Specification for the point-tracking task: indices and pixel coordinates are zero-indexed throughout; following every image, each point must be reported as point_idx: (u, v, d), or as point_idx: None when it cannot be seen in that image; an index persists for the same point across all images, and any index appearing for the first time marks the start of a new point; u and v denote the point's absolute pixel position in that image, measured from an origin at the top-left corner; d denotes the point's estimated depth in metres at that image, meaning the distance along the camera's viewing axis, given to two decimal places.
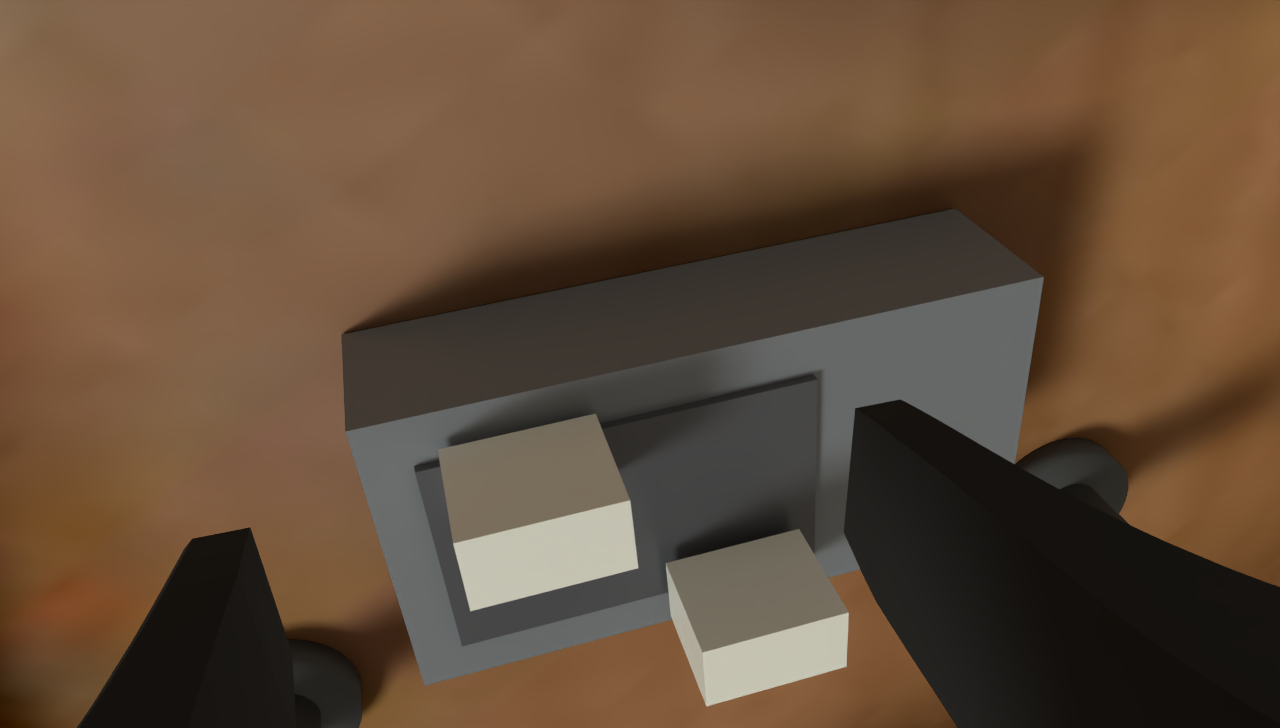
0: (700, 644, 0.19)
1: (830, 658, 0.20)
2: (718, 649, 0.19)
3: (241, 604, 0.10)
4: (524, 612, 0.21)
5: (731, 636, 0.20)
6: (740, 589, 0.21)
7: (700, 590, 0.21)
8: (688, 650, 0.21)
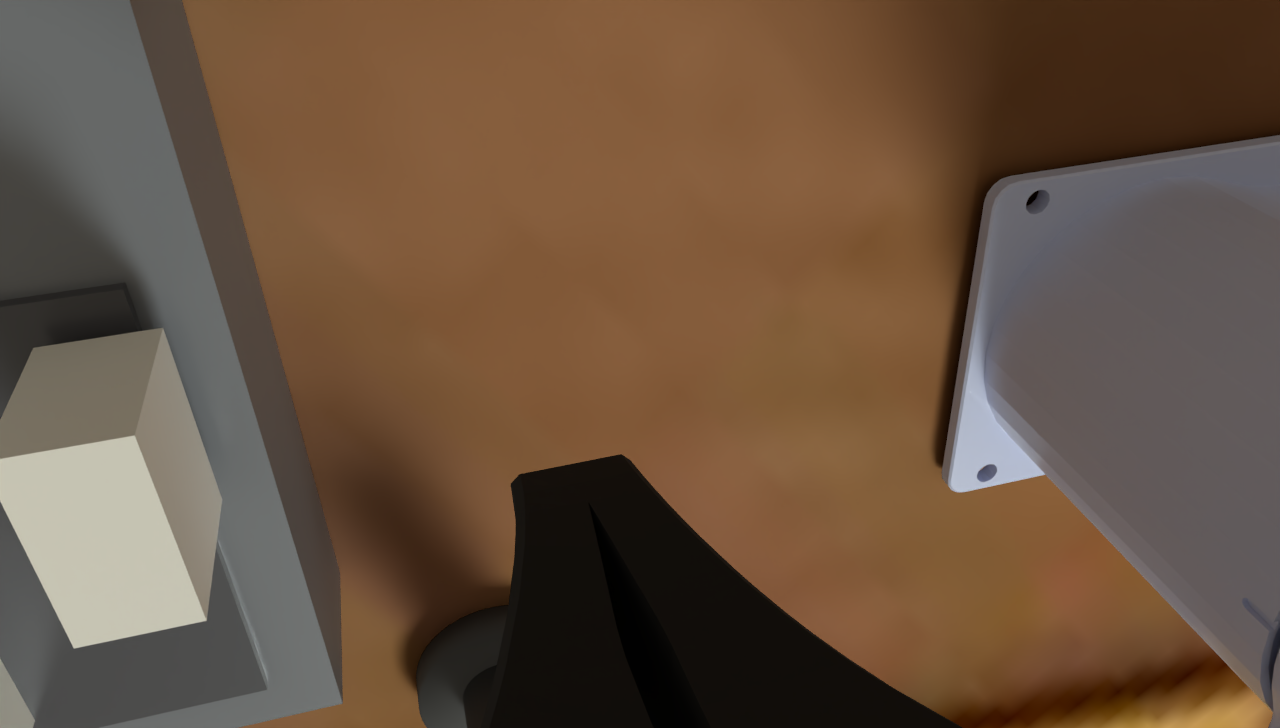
0: (76, 635, 0.13)
1: (108, 466, 0.12)
2: (68, 630, 0.13)
3: None
4: (214, 640, 0.17)
5: (59, 600, 0.13)
6: None
7: None
8: None
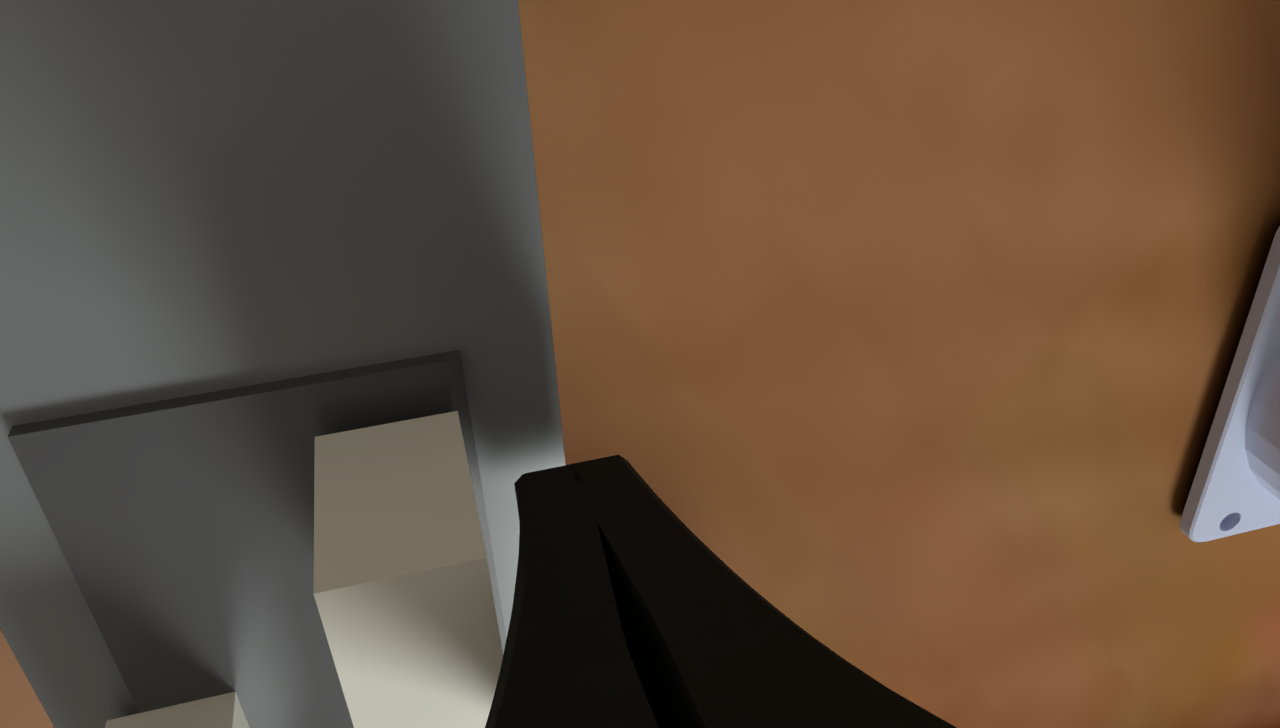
0: None
1: (451, 592, 0.10)
2: None
3: None
4: None
5: None
6: None
7: None
8: None
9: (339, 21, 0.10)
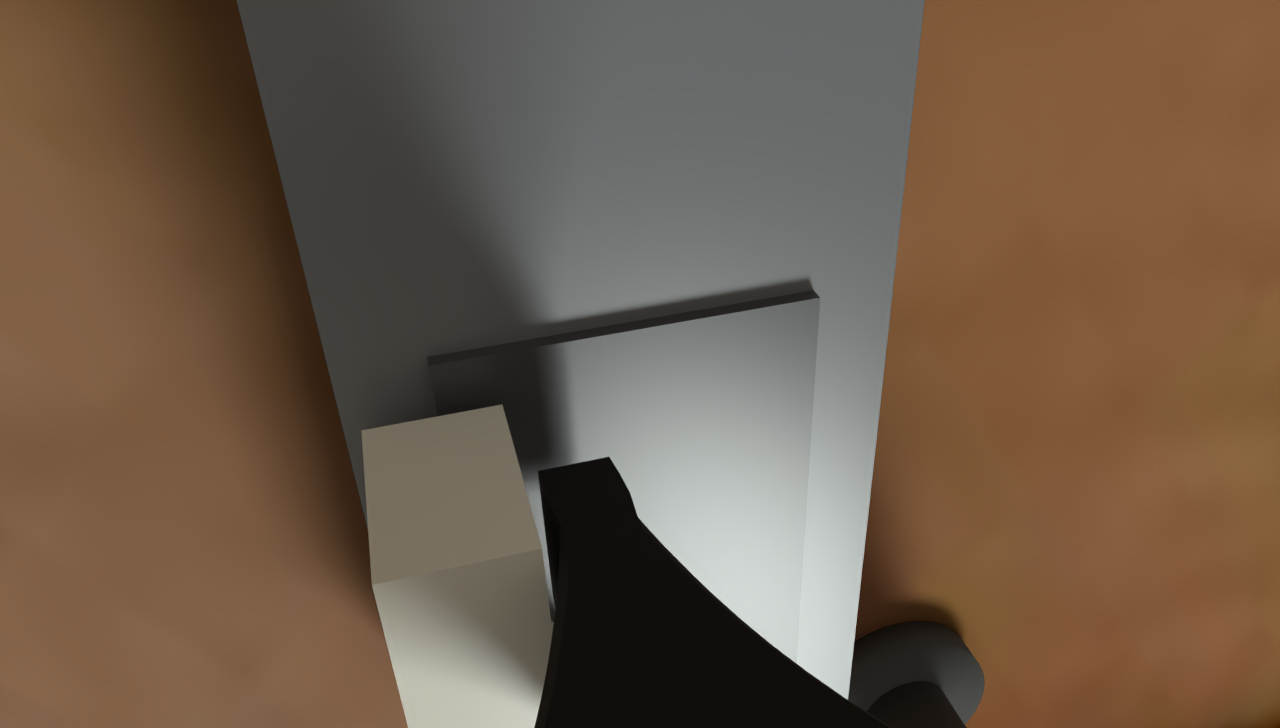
0: None
1: (505, 583, 0.10)
2: None
3: None
4: None
5: None
6: None
7: None
8: None
9: None
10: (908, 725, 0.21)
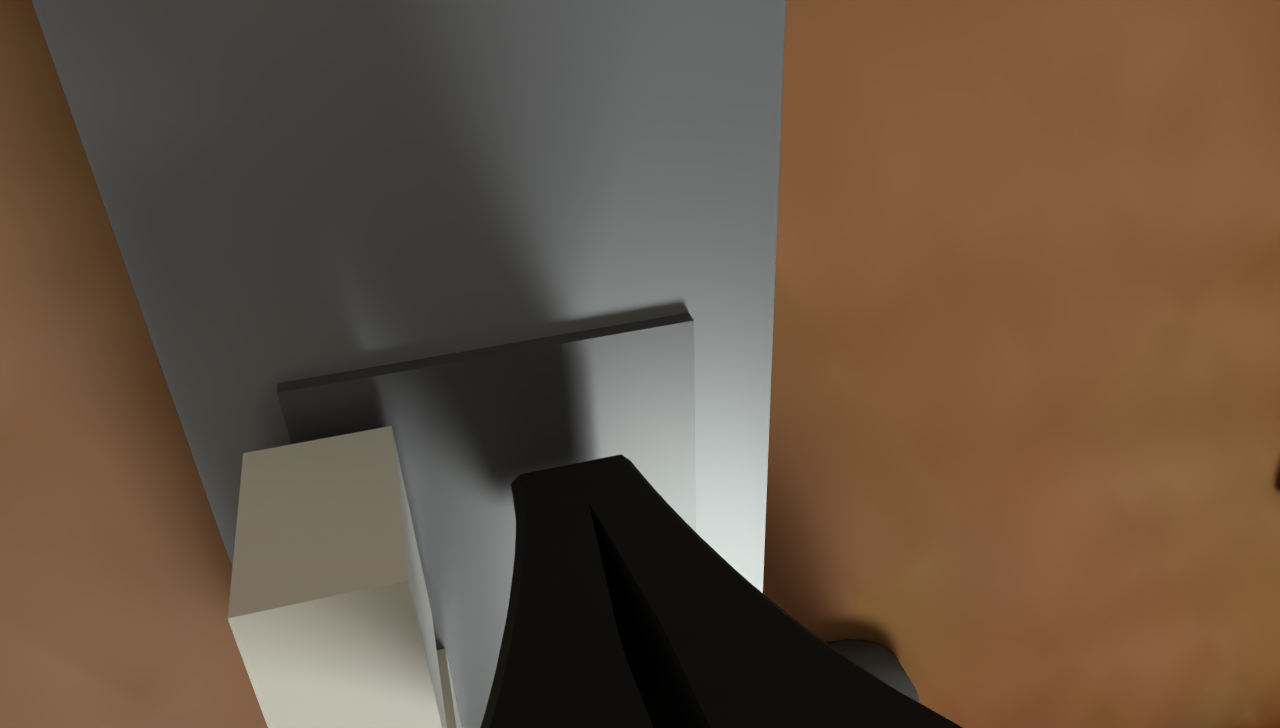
0: None
1: (373, 615, 0.10)
2: None
3: None
4: None
5: None
6: None
7: None
8: None
9: None
10: None
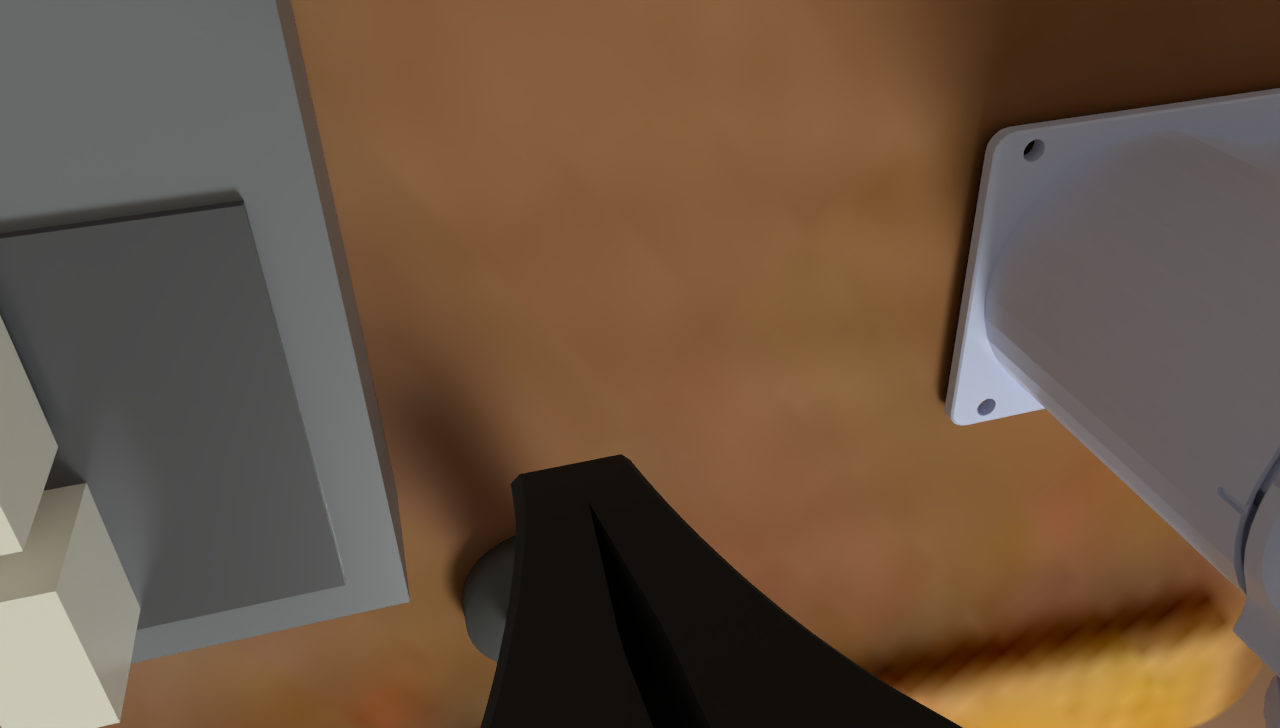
0: None
1: None
2: None
3: None
4: (301, 536, 0.19)
5: None
6: None
7: None
8: None
9: None
10: None
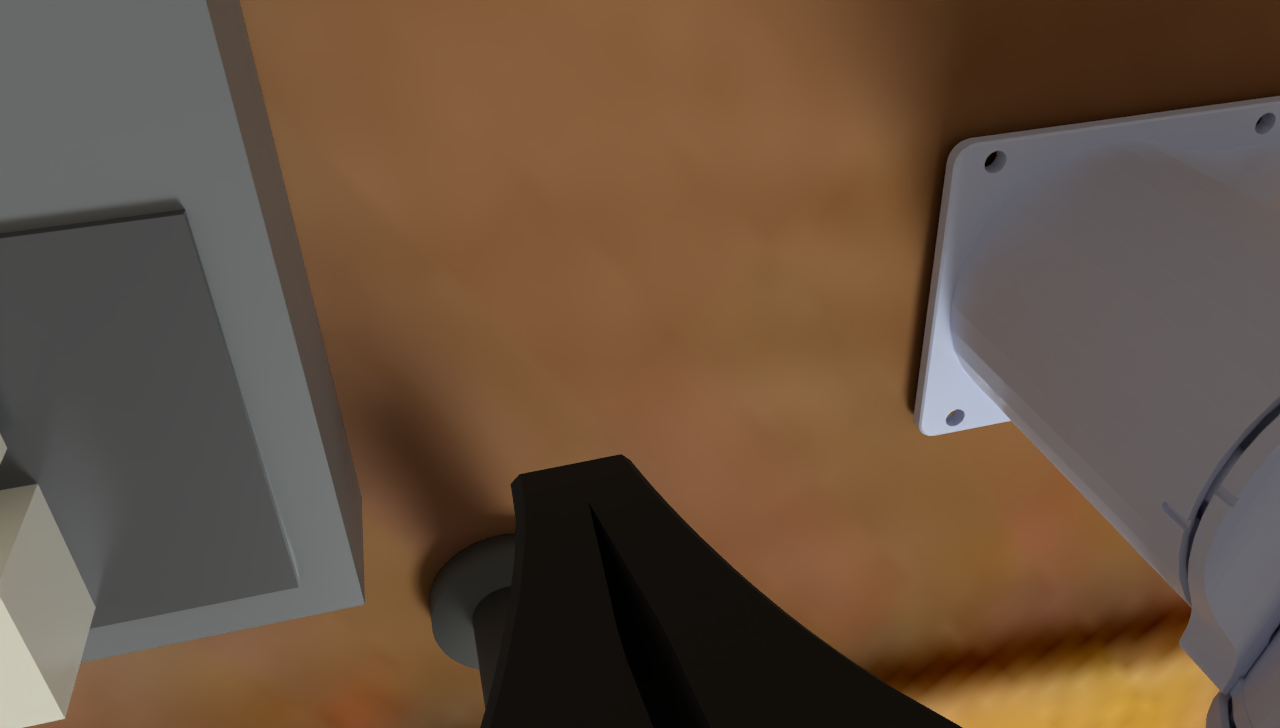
0: None
1: None
2: None
3: None
4: (253, 538, 0.19)
5: None
6: None
7: None
8: None
9: None
10: (494, 620, 0.25)
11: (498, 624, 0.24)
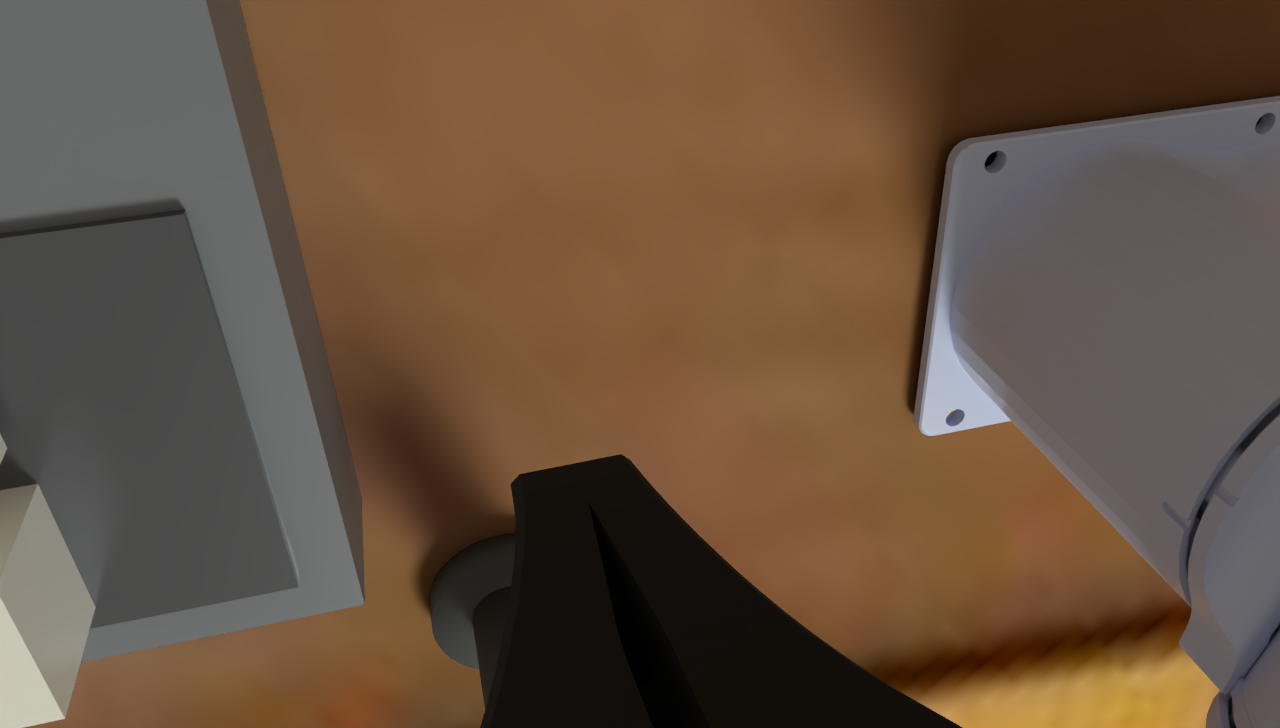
0: None
1: None
2: None
3: None
4: (253, 538, 0.19)
5: None
6: None
7: None
8: None
9: None
10: (494, 620, 0.25)
11: (498, 624, 0.24)
